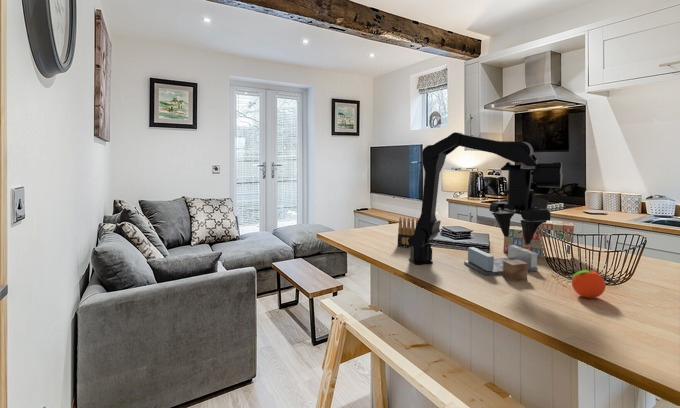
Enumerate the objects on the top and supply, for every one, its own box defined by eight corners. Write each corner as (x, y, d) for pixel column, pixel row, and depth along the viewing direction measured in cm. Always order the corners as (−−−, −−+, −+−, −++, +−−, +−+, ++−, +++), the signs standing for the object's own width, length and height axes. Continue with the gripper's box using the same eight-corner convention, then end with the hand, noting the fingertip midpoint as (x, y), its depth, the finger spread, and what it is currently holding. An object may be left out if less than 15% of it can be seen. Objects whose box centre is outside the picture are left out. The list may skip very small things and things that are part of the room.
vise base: (485, 275, 105) (485, 258, 104) (464, 263, 117) (464, 247, 116) (537, 271, 108) (538, 253, 108) (512, 260, 120) (512, 244, 119)
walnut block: (511, 281, 100) (512, 264, 99) (502, 277, 104) (503, 260, 103) (527, 280, 101) (527, 263, 100) (517, 275, 105) (518, 259, 104)
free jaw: (487, 271, 106) (487, 256, 105) (467, 260, 116) (468, 247, 116) (493, 270, 106) (493, 256, 105) (473, 260, 117) (473, 247, 116)
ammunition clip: (397, 246, 142) (397, 217, 140) (399, 245, 143) (399, 216, 142) (422, 249, 136) (423, 219, 134) (424, 248, 138) (424, 218, 136)
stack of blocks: (502, 252, 129) (504, 220, 128) (505, 248, 135) (506, 217, 133) (571, 260, 118) (574, 225, 116) (571, 256, 123) (573, 222, 122)
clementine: (578, 303, 85) (580, 275, 84) (560, 292, 92) (562, 266, 91) (611, 302, 85) (613, 274, 84) (590, 291, 92) (593, 265, 91)
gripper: (570, 188, 91) (566, 246, 93) (521, 183, 109) (519, 231, 112) (533, 189, 89) (529, 248, 91) (489, 184, 107) (487, 233, 110)
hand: (516, 240), depth 101 cm, fingers open, 9 cm apart
